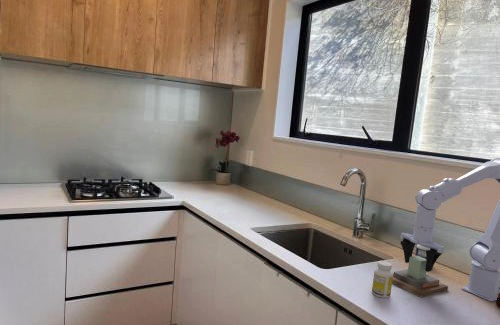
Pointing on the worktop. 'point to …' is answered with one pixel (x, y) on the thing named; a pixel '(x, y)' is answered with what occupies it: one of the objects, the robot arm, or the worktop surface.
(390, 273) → the supplement bottle
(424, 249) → the pill bottle
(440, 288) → the stepped stand
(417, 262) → the green block
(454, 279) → the worktop surface
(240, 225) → the worktop surface
